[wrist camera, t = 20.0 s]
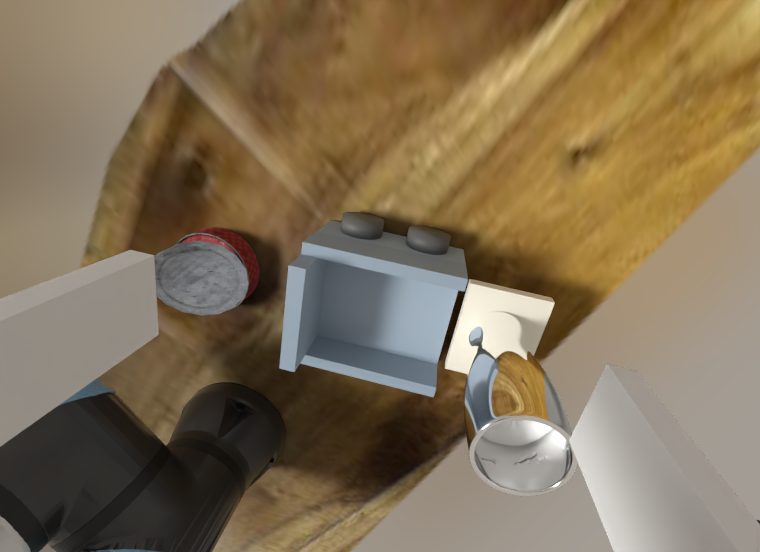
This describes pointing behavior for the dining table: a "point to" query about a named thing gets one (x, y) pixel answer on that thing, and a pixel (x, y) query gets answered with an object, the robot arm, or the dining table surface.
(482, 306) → the tailgate
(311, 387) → the dining table surface
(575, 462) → the beer glass
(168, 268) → the canned food
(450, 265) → the trailer
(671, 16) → the dining table surface
